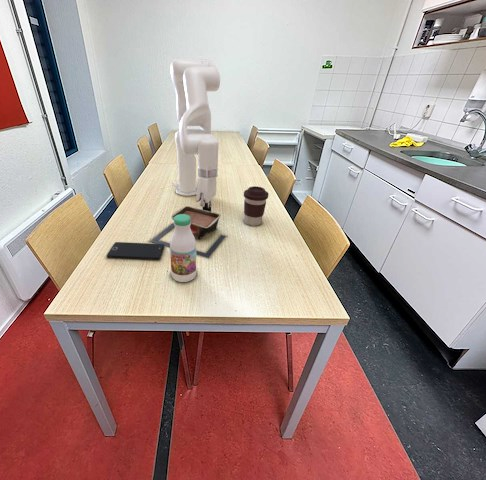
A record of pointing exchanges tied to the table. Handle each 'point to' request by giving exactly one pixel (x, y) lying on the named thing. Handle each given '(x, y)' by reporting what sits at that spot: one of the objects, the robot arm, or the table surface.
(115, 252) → the cell phone
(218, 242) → the tape outline
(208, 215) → the baking dish
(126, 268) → the table surface
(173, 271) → the milk bottle
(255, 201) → the coffee cup
